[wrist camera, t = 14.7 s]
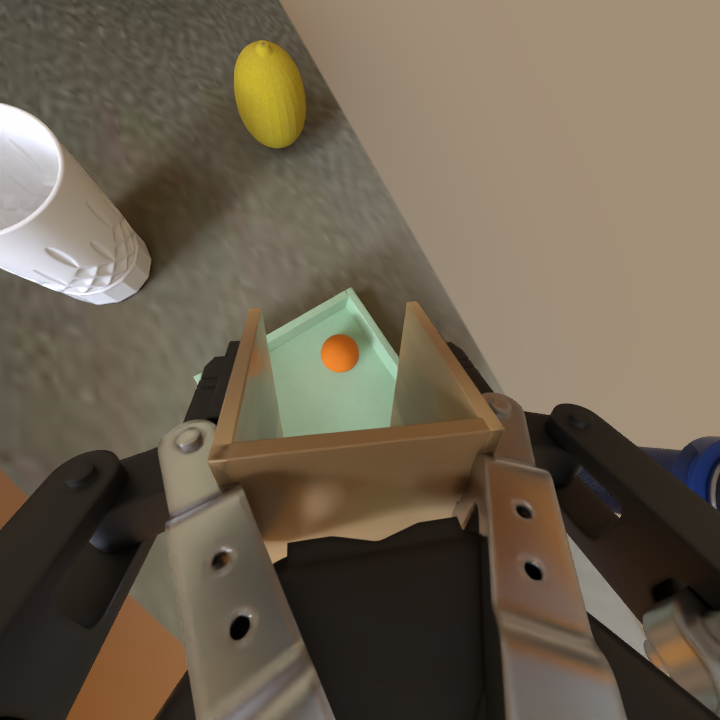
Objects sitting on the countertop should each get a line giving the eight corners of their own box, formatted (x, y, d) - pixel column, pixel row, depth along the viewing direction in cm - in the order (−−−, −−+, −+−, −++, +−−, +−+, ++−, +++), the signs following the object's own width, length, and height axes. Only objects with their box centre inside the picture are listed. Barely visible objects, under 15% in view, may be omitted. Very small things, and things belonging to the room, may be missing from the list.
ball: (324, 353, 26) (310, 337, 24) (356, 338, 26) (345, 321, 23) (334, 383, 25) (320, 370, 22) (368, 368, 25) (358, 353, 22)
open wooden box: (430, 589, 12) (506, 429, 6) (273, 618, 11) (205, 461, 5) (392, 455, 16) (416, 300, 11) (281, 468, 16) (249, 307, 10)
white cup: (155, 217, 26) (59, 97, 16) (164, 304, 25) (67, 230, 15) (48, 226, 25) (-125, 101, 15) (53, 319, 23) (-133, 249, 14)
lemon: (234, 139, 28) (203, 35, 21) (278, 109, 30) (265, -1, 22) (276, 180, 28) (261, 89, 21) (319, 147, 30) (320, 50, 22)
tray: (347, 300, 27) (351, 286, 24) (433, 427, 26) (447, 429, 23) (207, 381, 24) (192, 376, 21) (297, 528, 23) (294, 544, 20)
